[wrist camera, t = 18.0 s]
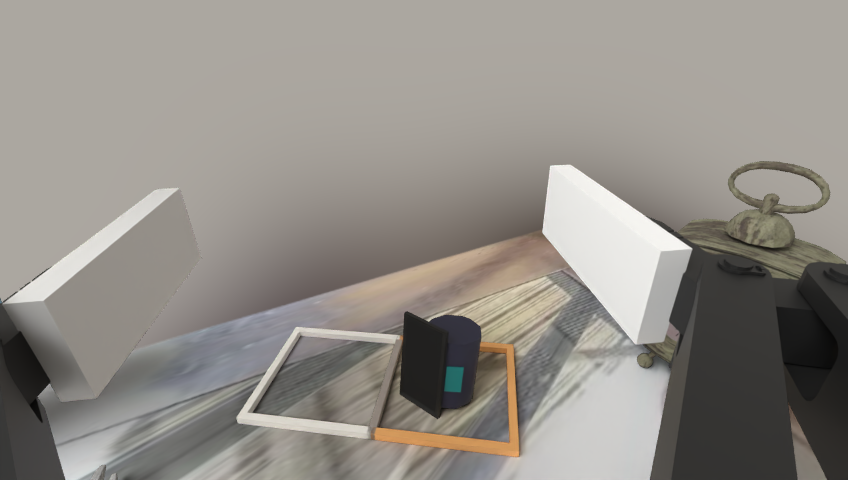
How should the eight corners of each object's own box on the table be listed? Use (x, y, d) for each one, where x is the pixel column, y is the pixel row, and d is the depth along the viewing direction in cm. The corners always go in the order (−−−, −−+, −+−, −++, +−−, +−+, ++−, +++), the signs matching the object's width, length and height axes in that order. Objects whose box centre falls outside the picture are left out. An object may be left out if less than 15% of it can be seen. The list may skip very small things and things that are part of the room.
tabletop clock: (619, 364, 49) (673, 156, 37) (653, 330, 54) (709, 138, 42) (770, 447, 39) (905, 199, 27) (793, 395, 44) (915, 169, 33)
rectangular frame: (237, 423, 43) (236, 418, 42) (297, 331, 56) (296, 326, 55) (518, 457, 39) (519, 451, 38) (512, 349, 51) (513, 344, 51)
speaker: (425, 430, 41) (429, 343, 37) (398, 393, 46) (400, 313, 42) (485, 403, 45) (495, 321, 41) (455, 372, 49) (461, 296, 46)
